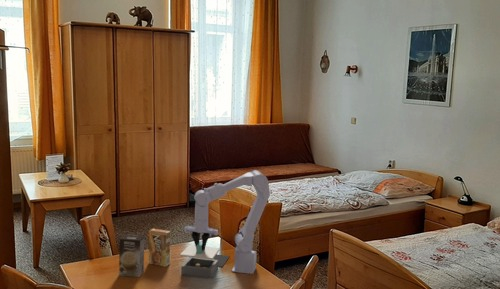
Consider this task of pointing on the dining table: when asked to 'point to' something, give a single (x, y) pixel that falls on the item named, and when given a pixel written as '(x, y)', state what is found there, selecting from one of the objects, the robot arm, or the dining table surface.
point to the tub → (199, 267)
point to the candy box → (159, 247)
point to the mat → (221, 259)
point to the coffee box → (131, 255)
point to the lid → (200, 252)
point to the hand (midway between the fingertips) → (200, 249)
